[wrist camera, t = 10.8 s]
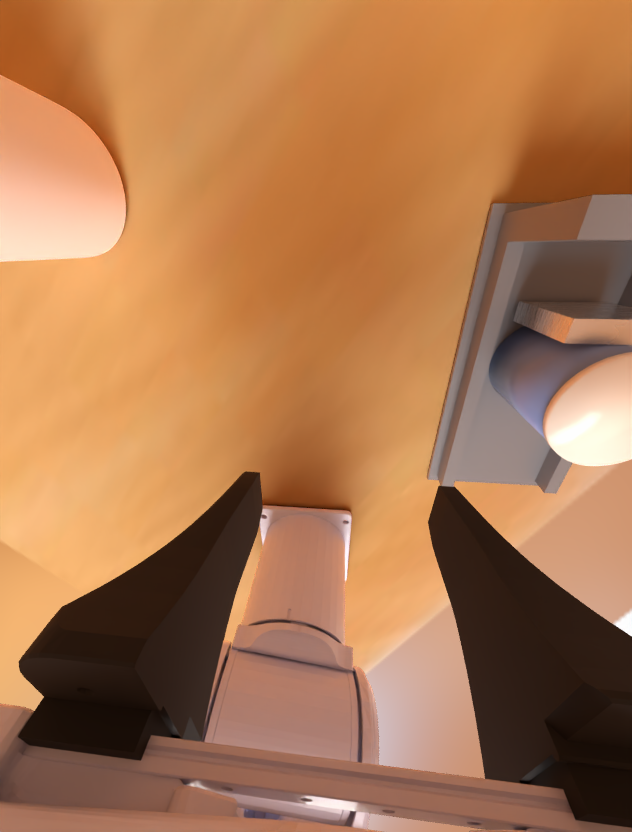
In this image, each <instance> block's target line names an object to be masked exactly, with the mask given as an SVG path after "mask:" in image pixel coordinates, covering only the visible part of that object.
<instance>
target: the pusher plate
mask: <svg viewBox="0 0 632 832" xmlns="http://www.w3.org/2000/svg"><path fill="white" fill-rule="evenodd" d="M513 321H515V322H517V323H519V324H521V325H524V326H526V327H528V328H530V329H533V330H535V331H537V332H539V333H542V334H544V335H546V336H548V337H551V338H553V339H555V340H558V341H560V342H562V343H567V344H614V345H632V307H627V306H622V305H618V304H613V303H608V302H528V301H519V303H518V307H517V310H516V313H515V316H514V319H513Z"/></svg>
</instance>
